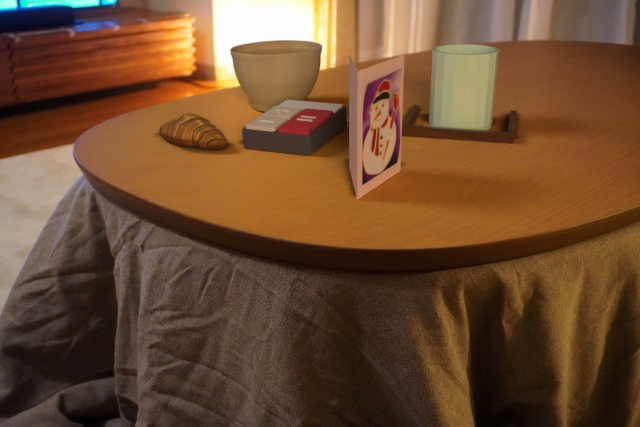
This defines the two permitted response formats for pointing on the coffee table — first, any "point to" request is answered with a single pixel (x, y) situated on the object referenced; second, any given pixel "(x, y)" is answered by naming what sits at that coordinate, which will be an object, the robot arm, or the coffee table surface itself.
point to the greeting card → (375, 123)
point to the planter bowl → (276, 70)
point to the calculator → (295, 127)
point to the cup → (463, 86)
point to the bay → (457, 130)
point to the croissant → (193, 133)
